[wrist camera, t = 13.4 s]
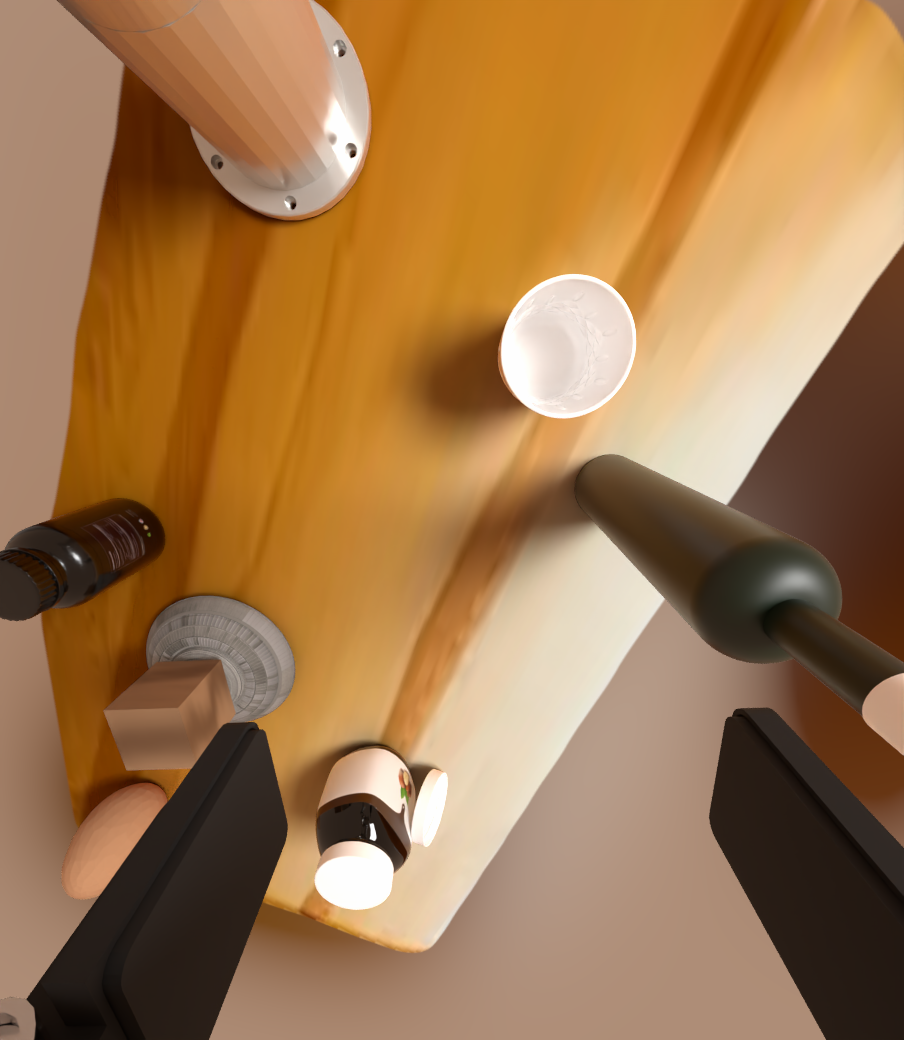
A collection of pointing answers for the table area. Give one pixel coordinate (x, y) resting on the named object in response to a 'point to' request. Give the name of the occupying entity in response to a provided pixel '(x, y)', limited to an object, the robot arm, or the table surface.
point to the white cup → (567, 346)
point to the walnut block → (170, 714)
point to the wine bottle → (742, 584)
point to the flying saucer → (228, 650)
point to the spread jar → (372, 824)
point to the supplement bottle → (76, 557)
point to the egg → (109, 838)
